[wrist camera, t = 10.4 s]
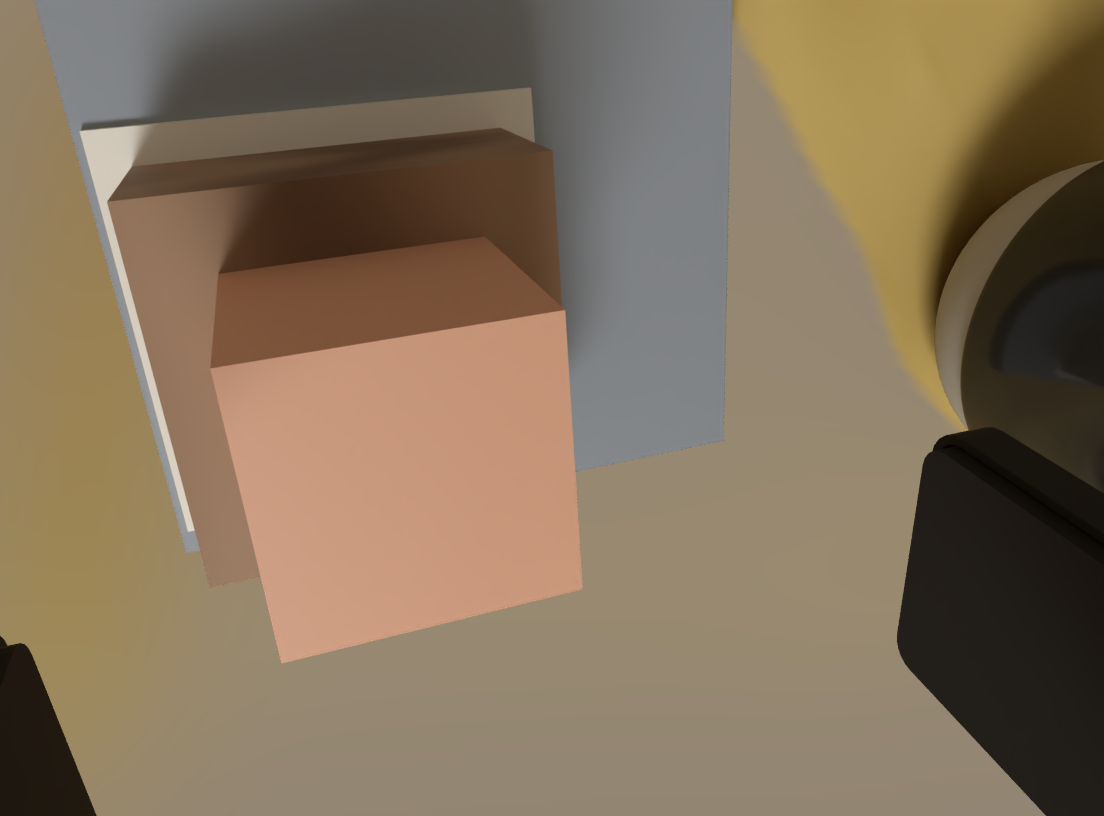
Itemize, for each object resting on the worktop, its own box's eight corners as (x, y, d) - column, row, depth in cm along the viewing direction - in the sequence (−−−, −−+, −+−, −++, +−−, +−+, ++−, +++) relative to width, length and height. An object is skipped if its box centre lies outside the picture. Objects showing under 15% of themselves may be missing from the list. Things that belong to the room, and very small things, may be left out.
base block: (500, 127, 21) (552, 150, 17) (525, 436, 24) (574, 507, 21) (131, 166, 19) (106, 201, 15) (214, 497, 22) (209, 587, 19)
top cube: (485, 236, 18) (564, 310, 13) (506, 461, 20) (582, 588, 15) (218, 273, 16) (210, 368, 12) (271, 509, 19) (281, 663, 14)
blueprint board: (719, -486, 19) (747, -516, 18) (708, 427, 27) (727, 443, 26) (-105, -548, 15) (-131, -589, 14) (188, 533, 24) (186, 557, 23)
